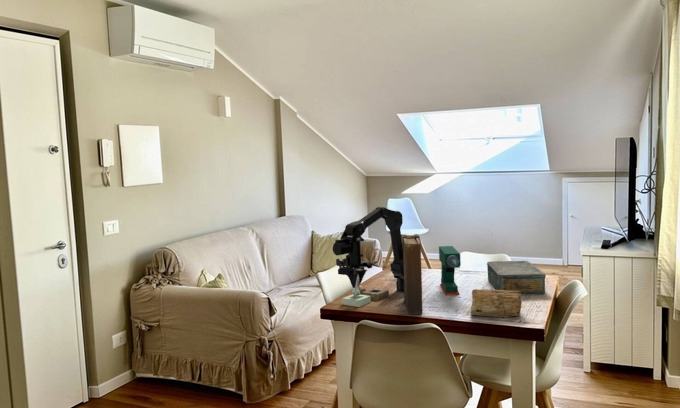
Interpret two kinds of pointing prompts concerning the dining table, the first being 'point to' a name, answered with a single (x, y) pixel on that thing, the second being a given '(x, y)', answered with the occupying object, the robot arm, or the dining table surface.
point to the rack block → (356, 300)
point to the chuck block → (376, 293)
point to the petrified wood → (496, 303)
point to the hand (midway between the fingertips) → (356, 286)
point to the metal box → (516, 277)
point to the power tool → (449, 269)
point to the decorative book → (412, 274)
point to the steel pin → (357, 287)
